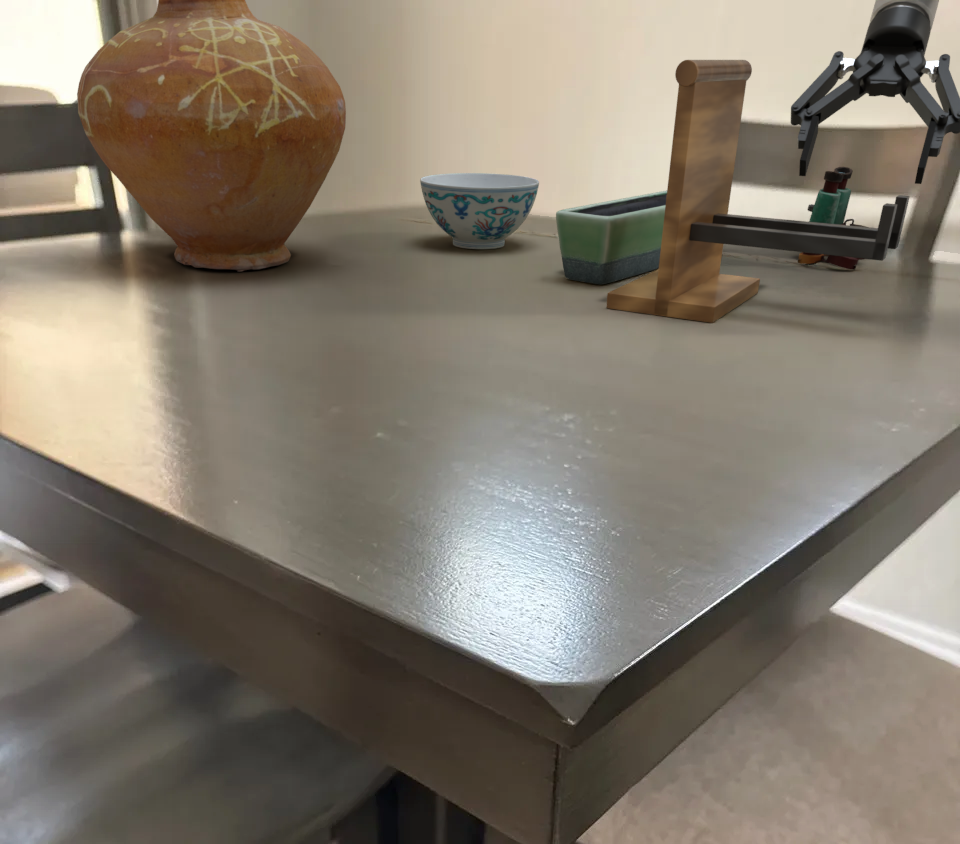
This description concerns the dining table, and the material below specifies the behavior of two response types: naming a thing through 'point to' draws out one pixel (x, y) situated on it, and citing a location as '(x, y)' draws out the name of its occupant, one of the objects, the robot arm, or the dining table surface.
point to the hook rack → (726, 209)
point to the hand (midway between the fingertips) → (859, 172)
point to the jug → (214, 128)
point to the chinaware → (479, 206)
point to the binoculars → (832, 214)
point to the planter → (612, 238)
